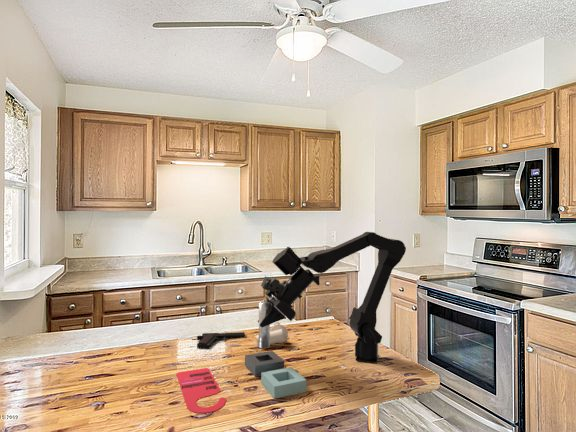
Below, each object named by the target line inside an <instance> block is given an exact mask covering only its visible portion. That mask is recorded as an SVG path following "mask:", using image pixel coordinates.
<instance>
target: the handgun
mask: <svg viewBox="0 0 576 432" xmlns="http://www.w3.org/2000/svg"><path fill="white" fill-rule="evenodd" d="M243 338H246V333H245V331H244V332H243V331H242V332H239V331H238V332H220V333H219V332H204V333H202V335H197V336H196V339H197V341H198V342H197V343H196V344H197V345H196V349H202V350H203V349H204V350H210V349H211V347H212V346H213V345H214V344H215V343H217V342H224V341H225V340H229V339H233V340H234V339H243Z"/></svg>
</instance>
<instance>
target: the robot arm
mask: <svg viewBox="0 0 576 432" xmlns="http://www.w3.org/2000/svg"><path fill="white" fill-rule="evenodd" d="M369 247H373V248H375V249H377V250H378V251H377V252H378V253H377V260H378V261H377V265H376V267H375V271H374V273H373V274H372V275H373V276H372V278H371V281H370V283H369V286H368V288H367V291H366V293H365V297H364V299H363V301H362V303H361V304H360V305H359V307H358V308H357V307H354V306H353V308H352V311H351V314H350V316H349V317H348V319H349V327H350V329H351V330H352V331H353V332H354V334H355V337H357V338H356V341H355V344H354V356H355V361H357V362H363V363H364V362H366V363H371V364H377V363H378V361H379V357H380V354H379V344H381V342H382V339H383V336H382V335H381V334H380V332H379V331H377V330H376V326H377V310H378V307H379V305H380V302H381V300H382V297H383V294H384V292H385V289H386V287H387V285H388V282H389V281H390V277H391V274H392V271H393V269H394V268H395V267H396V266H397V265H398V264H399V263H400V262H401V261H402V259H403V257H404V255H405V254H406V250H407V247H406V245H405V243H404V242H403V241H402V240H400V239H393V238H388V237H385V236H382V235H380V234H377V233H376V232H374V231H372V232H371V231H365V232H363V233H362V234H360V235H358V236H356V237H353V238H351V239H349V240H347V241H345V242H343V243H341V244H339V245H336V246H333V247H331V248H330V247H329V248H325V249H321V250H317V251H312V252H310V253H309V254H308V255H307V256H300V257H299V256H298V255H297V254H296V253H295V252H294V250H293V249H292V248H291V247H290V246H287V247H286V248H285V249H283V250H282V251H281V252H278V253H277V254H276V255H275V256H274V258H273V259H272V264H274V266H275V267H277V269H279V270H280V272H282V274H284V275H285V276H288V275H290V277H289V278H288V280H287V279H286V280H282V282H280V280H279V279H276V278H275V277H273V278H270V277H268V276H266V275H265V276H264V278H263V279H262V283H261V285H260V287H261V288H262V289H264V290H265V292H264V294H265V295H266V297H265V300H266V302H270V310H269V312H268V313H267V315H266V316H265V317H264V319H263V320H262V322H261V323H260V326H261V327H265V326H267V325H270V326H271V324H274V323H276V322H279V321H282V320H286V319H288V320H289V321H290V322H292V320H294V319H295V318H296V310H294V308H293V304H294V302H295V301H297V300H298V298H299V299H301V298H302V297H303V295H302V294H304V293H303V292H305V291H306V290H307V288H309V287H310V286H311V284H312V283H314V284H315V285H317V286H320V275H318V274H314V273H313V272H312V271H314V272H315V273H319V274H322V273H325V272H327V271H328V270H330V269H332V268H333V267H334V266H335V265H337V263H338V262H339V261H341V260H343V259H344V258H347V257H350V256H351V255H353V254H356V253H358V252H360V251H362V250H364V249H366V248H369ZM301 265H302V266H304V267H305V268H308V269H304V268H303V267H302V266H301ZM267 296H268V297H267ZM257 323H258V324H259V319H258V320H257Z"/></svg>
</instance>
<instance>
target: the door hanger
mask: <svg viewBox="0 0 576 432" xmlns="http://www.w3.org/2000/svg"><path fill="white" fill-rule="evenodd" d="M175 376H176V377H177V381H178V384H179V387H180V390H181V393H182V396H183V399H184V403H185V406H186V408H187V410H188V411H190V412H191V413H194V414H208V413H209V414H211V413H213V412H217V411H219V410H221V409H222V408H223V407H224V406H225V405H226V403H227V398H225V397H220V398H219V399H218V401H217V403H215V404H214V405H209V406H201V405H198V404H197V401H198V400H199V398H200V399H204V398H207V397H211V396H215V395H217V394H219V393H220V392H221V388H220V387H219V384H218V383H217V380H216V379H215V377H214V376H213V374H212V372H211V370H210V368H208V367H203V368H196V369H191V370H190V369H189V370H185V371H179V372H176V373H175ZM203 397H204V398H203Z"/></svg>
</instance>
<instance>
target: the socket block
mask: <svg viewBox="0 0 576 432" xmlns="http://www.w3.org/2000/svg"><path fill="white" fill-rule="evenodd" d="M244 366H245V367H246V368H247V369H248V370H249V371H250V373H251V375H253V376H254V378H256V377H261V373H262V372H268V371H273V370H278V369H284V368H285V360H284V359H283V358H282V357H280V356H279V355H278V354H277V352H275V351H274V350H269V351H263V352H262V351H261V352H256V353H249V354H244Z"/></svg>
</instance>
